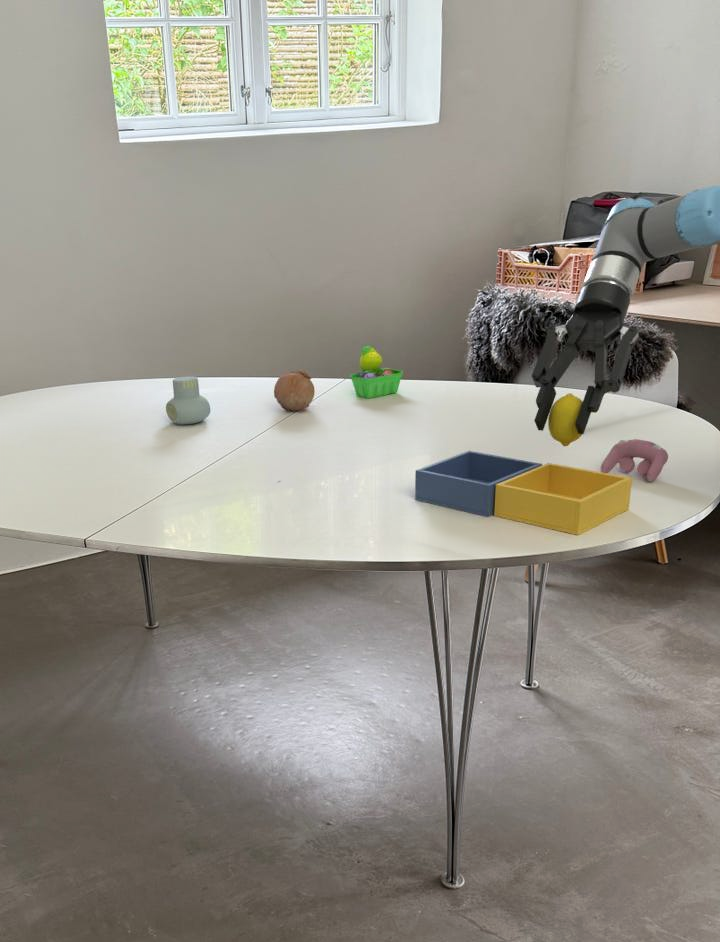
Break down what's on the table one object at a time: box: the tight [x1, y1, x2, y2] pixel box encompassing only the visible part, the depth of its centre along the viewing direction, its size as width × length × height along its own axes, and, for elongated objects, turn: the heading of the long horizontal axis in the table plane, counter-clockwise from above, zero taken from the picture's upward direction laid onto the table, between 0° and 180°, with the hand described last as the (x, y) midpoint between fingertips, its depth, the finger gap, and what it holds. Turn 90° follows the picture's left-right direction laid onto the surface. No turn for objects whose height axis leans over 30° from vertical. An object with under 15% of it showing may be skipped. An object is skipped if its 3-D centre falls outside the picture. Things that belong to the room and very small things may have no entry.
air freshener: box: [165, 375, 211, 426], centre depth 220 cm, size 11×8×10 cm
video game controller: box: [600, 438, 669, 483], centre depth 162 cm, size 10×5×7 cm, turn 41°
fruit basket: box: [349, 345, 404, 399], centre depth 233 cm, size 11×9×11 cm
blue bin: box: [414, 450, 543, 517], centre depth 157 cm, size 15×15×5 cm
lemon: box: [547, 393, 583, 447], centre depth 143 cm, size 6×6×8 cm
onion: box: [273, 369, 316, 412], centre depth 224 cm, size 10×9×10 cm
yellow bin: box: [493, 462, 633, 536], centre depth 147 cm, size 15×15×5 cm
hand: (558, 427), depth 140 cm, fingers closed on lemon, 5 cm apart
